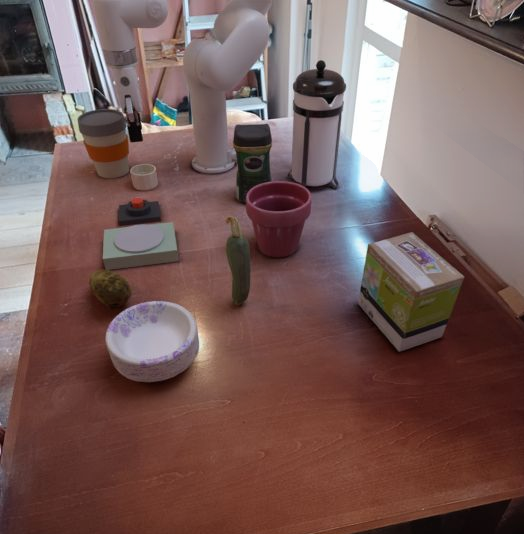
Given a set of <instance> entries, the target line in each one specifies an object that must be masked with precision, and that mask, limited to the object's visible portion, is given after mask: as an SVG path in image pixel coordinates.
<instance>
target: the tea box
mask: <svg viewBox="0 0 524 534" xmlns="http://www.w3.org/2000/svg"><path fill="white" fill-rule="evenodd" d="M362 270H363V271H362V277H361V283H360V288H359V294H358V301H357V304H358V306H360V308H361V309H362V310H363V311H364V313H365V314H366V315H367V316H368V317H369V319H370V320H371V321H372V322H373V323H374V324H375V325H376V326H377V327H378V329H379V330H380V332H381V333H382V334H383V335H384V336H385V337H386V338H387V340H388V341H389V342H390V343H391V345H393V347H394V348H395V349H396V350H397V351H398V352H399V353H400V352H403V351H406V350H409V349H412V348H416V347H417V346H420V345H424V344H426V343H429V342H433V341H435V340H438V339H440V338H443V335H444V332H445V331H446V327H447V325H448V323H449V320H450V317H451V315H452V312H453V309H454V306H455V304H456V301H457V298H458V296H459V293H460V290H461V287H462V285H463V282H464V279H465V276H464V275H463V274H462V273H461V272H459V271H458V270H457V269H456V268H455V267H453V266H452V265H451V264H450V263H449V262H448V261H447V260H446V259H444V257H442V256H440V255H439V253H437V252H436V251H435V250H434V249H433V248H432V247H430V246H429V245H428V244H427V243H425V241H423V240H422V239H421V238H419V236H418V235H416V234H415V233H414V232H413V231H411V232H407V233H403V234H401V235H400V234H399V235H397V236H393V237H390V238H386V239H382V240H379V241H376V242H371V243H368V244H367V248H366V253H365V261H364V265H363V269H362Z"/></svg>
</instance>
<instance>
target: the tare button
mask: <svg viewBox="0 0 524 534" xmlns="http://www.w3.org/2000/svg"><path fill="white" fill-rule="evenodd" d="M143 200H144V199H143V198H141V197H134V198H132V199H131V200H130V201H131V202H132V207H133V208H141V207H143V206H144V203H143Z"/></svg>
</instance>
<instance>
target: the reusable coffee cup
mask: <svg viewBox="0 0 524 534" xmlns="http://www.w3.org/2000/svg"><path fill="white" fill-rule="evenodd" d="M77 125H78V126H77V127H78V131H79V133H80V134H81V135H82V138H83V141H82V142H83V144H84V147H85V150H86V153H87V155H88V157H89V159H90V160H91V161H92V164H93V165H94V168H95V171H96V173H97V175H98V176H99V177H101V178H104V179H116V178H122V177H124V176H125V175H127V174H128V173H130V165H129V163H130V162H129V154H130V148H129V146H130V145H129V134H127V129H126V128H127V121H126V118H125V115H124V113H123V112H122V111H120V110H117V109H112V108H99V109H93V110H89V111H86V112H83V113H82V114H80V115H79V116H78V117H77Z"/></svg>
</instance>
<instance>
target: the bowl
mask: <svg viewBox="0 0 524 534" xmlns="http://www.w3.org/2000/svg"><path fill="white" fill-rule="evenodd" d="M129 174H130V178H131V181H132V182H131V183H132V187H133V188H134V189H135V190H137V191H141V192H147V191H153V190H154V189H156V188H157V187H158V185H159V177H158V173H157V167H156V166H155V165H154V164H151V163H141V164H136V165H134V166H132V167H131V168H129Z"/></svg>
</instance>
